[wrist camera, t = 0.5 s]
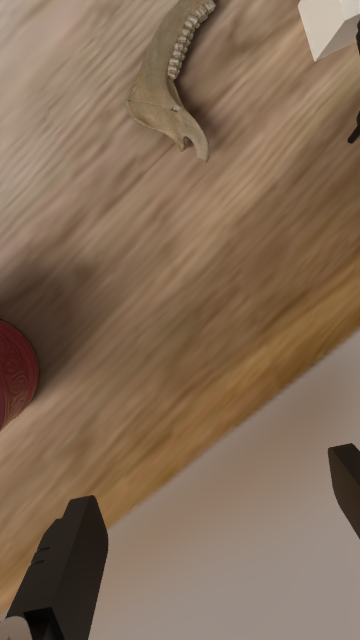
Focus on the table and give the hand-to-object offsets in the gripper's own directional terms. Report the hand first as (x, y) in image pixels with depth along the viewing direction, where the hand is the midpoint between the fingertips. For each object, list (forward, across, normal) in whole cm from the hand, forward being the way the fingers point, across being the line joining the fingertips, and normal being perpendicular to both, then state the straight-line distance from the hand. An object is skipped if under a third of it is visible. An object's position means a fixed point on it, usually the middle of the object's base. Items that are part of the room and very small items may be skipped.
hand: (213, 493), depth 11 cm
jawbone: (+28, -9, -23) cm, 37 cm away
